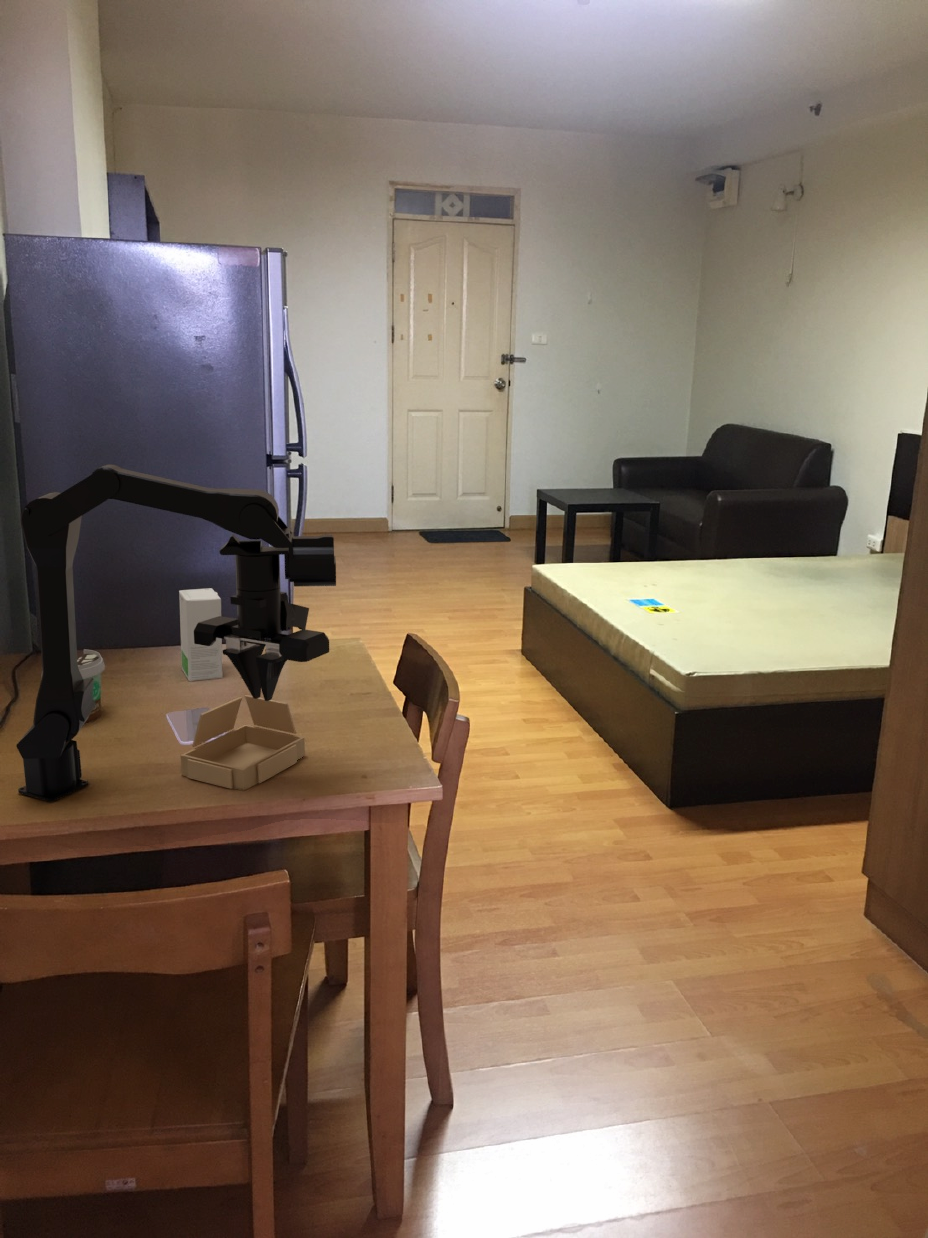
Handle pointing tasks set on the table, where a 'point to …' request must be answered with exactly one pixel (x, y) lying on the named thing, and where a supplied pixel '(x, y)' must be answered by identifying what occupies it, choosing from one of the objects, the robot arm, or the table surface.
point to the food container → (92, 668)
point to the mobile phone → (186, 724)
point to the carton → (243, 757)
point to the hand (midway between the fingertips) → (262, 699)
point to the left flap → (216, 721)
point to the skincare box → (194, 657)
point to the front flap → (270, 714)
